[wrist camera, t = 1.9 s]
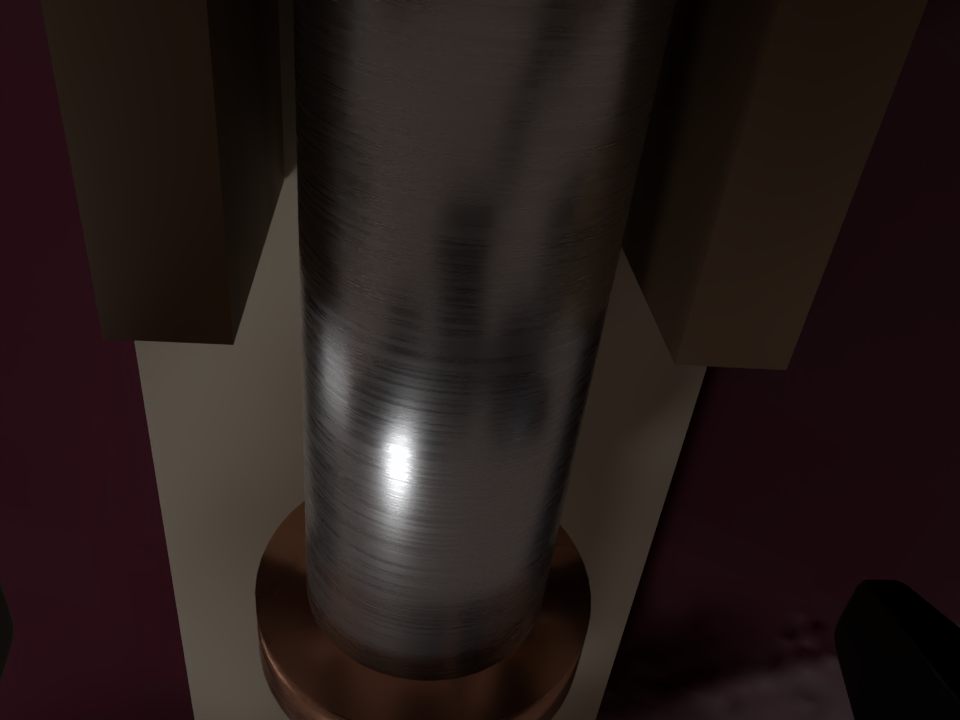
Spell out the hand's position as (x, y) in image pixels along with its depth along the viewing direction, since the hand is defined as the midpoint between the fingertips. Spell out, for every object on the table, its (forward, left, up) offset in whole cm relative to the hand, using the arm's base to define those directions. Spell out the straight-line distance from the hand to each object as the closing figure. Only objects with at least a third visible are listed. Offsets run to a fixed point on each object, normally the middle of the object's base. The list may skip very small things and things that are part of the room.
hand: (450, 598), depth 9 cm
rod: (0, 0, -5) cm, 5 cm away
